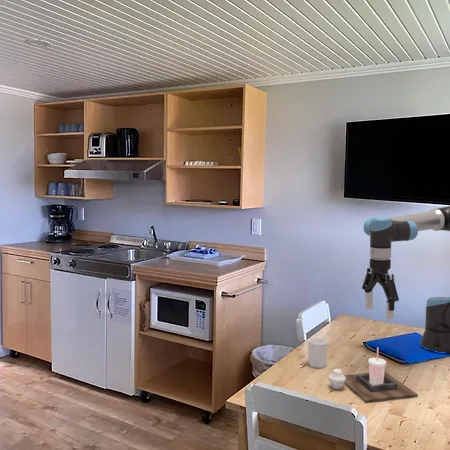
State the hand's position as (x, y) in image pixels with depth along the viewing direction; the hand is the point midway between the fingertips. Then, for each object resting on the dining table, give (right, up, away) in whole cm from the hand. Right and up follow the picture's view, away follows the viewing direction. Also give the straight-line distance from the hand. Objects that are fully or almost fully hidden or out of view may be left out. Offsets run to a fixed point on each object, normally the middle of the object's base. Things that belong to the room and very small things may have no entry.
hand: (379, 313), depth 177 cm
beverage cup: (-4, -25, -8) cm, 26 cm away
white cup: (-21, -24, +13) cm, 34 cm away
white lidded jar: (-18, -26, -8) cm, 32 cm away
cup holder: (-4, -25, -8) cm, 27 cm away
